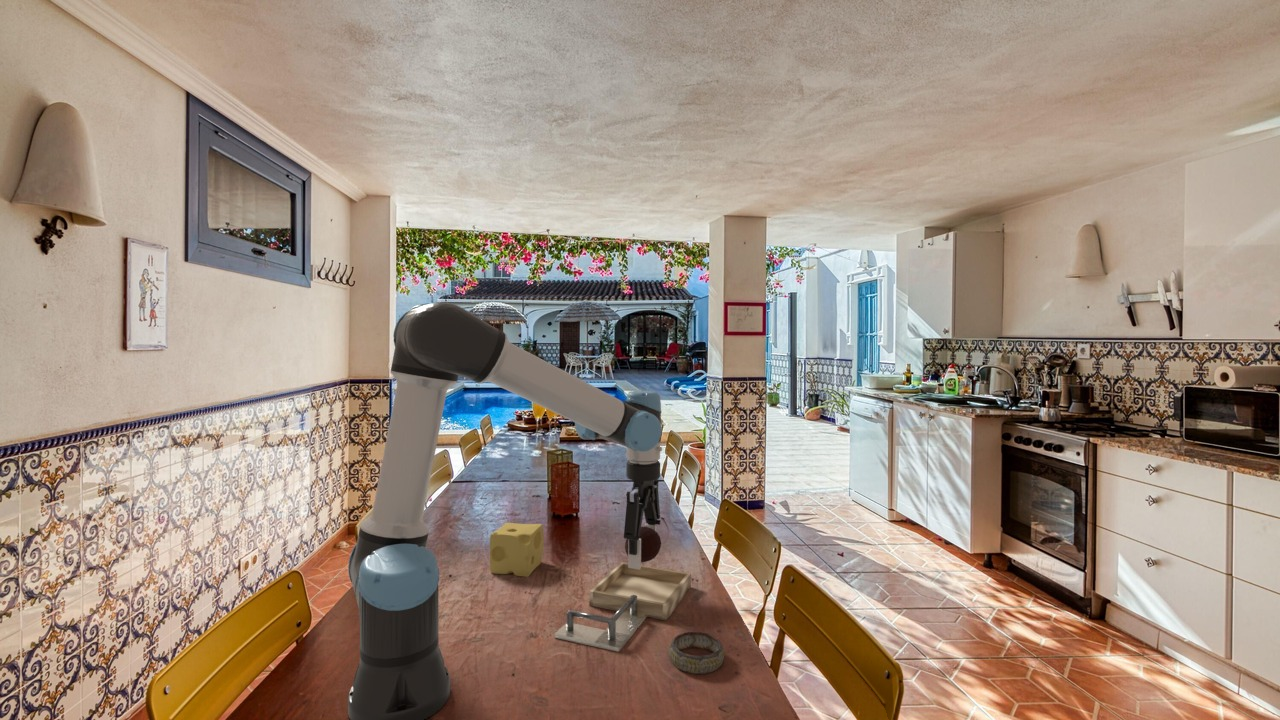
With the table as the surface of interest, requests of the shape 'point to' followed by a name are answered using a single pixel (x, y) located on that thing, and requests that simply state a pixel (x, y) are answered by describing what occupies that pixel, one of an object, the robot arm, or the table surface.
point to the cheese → (516, 549)
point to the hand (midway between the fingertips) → (642, 560)
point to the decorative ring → (696, 662)
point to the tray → (642, 590)
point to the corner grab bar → (610, 638)
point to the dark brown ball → (648, 544)
